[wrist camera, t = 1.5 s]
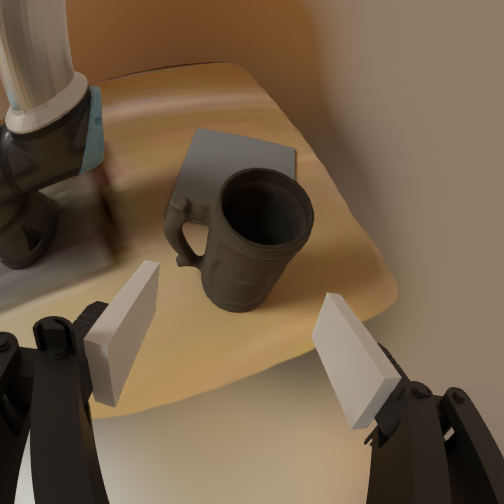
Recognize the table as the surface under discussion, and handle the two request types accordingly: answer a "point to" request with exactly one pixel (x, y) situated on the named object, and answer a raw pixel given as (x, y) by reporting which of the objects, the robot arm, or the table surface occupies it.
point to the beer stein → (244, 235)
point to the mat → (226, 163)
